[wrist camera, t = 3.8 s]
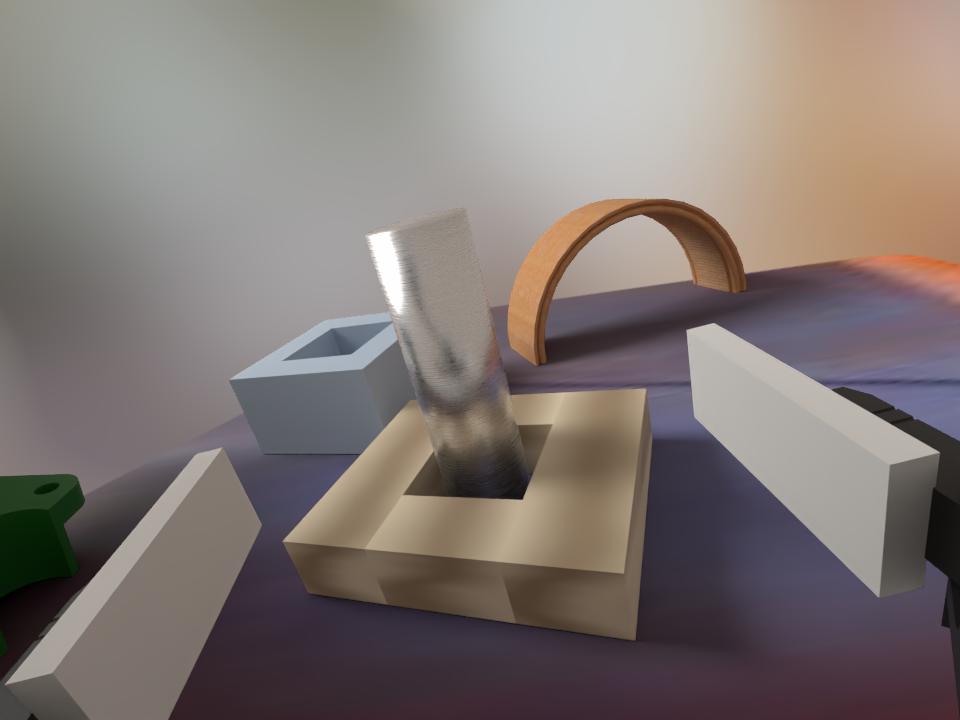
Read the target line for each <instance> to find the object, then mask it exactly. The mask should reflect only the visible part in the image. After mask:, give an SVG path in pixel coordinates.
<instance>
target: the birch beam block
mask: <svg viewBox="0 0 960 720" xmlns="http://www.w3.org/2000/svg"><path fill="white" fill-rule="evenodd" d="M511 399H512V403H513V407H514V411H515V415H516V419H517V424H518V428H519V432H520V436H521V440H522V444H523V448H524V452H525V457H526V461H527V465H528V469H529V473H530V474H533V475H532V478H531V480H530V483H529V485H528V488H527V490H526V493H525V495H524V498H523V500H511V499H487V498H462V497H448V493H447V490H446V487H445V484H444V481H443V478H442V475H441V472H440V469H439V465H438V462H437V459H436V456H435V453H434V450H433V447H432V444H431V441H430V437H429V434H428V431H427V428H426V425H425V422H424V419H423V416H422V413H421V409H420V406H419V403H418V400H410V401H409V402H408V403H407V404H406V405H405V407H404V408H403V409H402V410H401V411H400V412H399V413H398V414H397V415H396V417H395V418H394V419H393V420H392V421H391V422H390V423H389V424H388V425H387V426H386V428H385V429H384V430H383V431H382V432H381V433H380V434H379V435H378V436H377V438H376V439H375V440H374V441H373V442H372V443H371V444H370V445H369V446H368V447H367V449H366V450H365V451H364V452H363V453H362V454H361V455H360V456H359V457H358V459H357V460H356V461H355V462H354V463H353V464H352V465H351V466H350V467H349V468H348V470H347V471H346V472H345V473H344V474H343V475H342V476H341V477H340V478H339V480H338V481H337V482H336V483H335V484H334V485H333V486H332V487H331V488H330V489H329V491H328V492H327V493H326V494H325V495H324V496H323V497H322V498H321V499H320V500H319V502H318V503H317V504H316V505H315V506H314V507H313V508H312V509H311V510H310V512H309V513H308V514H307V515H306V516H305V517H304V518H303V519H302V520H301V521H300V523H299V524H298V525H297V526H296V527H295V528H294V529H293V530H292V531H291V533H290V534H289V535H288V536H287V537H286V538H285V539H284V540H283V543H284V545H285V547H286V549H287V551H288V553H289V555H290V557H291V560H292V562H293V564H294V566H295V568H296V570H297V572H298V574H299V576H300V578H301V580H302V582H303V584H304V586H305V588H306V590H307V592H308V593H310V594H317V595H324V596H331V597H337V598H344V599H351V600H358V601H365V602H372V603H379V604H386V605H393V606H399V607H406V608H413V609H420V610H427V611H434V612H441V613H448V614H454V615H461V616H468V617H475V618H482V619H489V620H496V621H503V622H510V623H516V624H523V625H530V626H537V627H544V628H551V629H558V630H565V631H571V632H578V633H585V634H592V635H599V636H606V637H613V638H620V639H626V640H633V641H635V640H636V628H637V616H638V604H639V593H640V581H641V569H642V557H643V545H644V533H645V521H646V510H647V498H648V486H649V474H650V462H651V450H652V430H651V422H650V415H649V407H648V399H647V391H646V389H629V390H608V391H587V392H566V393H545V394H524V395H511Z"/></svg>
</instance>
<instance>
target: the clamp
mask: <svg viewBox="0 0 960 720" xmlns="http://www.w3.org/2000/svg"><path fill="white" fill-rule="evenodd" d="M84 502H85V499H84V496H83V493H82V490H81V487H80V484H79V481H78V478H77V477H76V476H74V475H70V474H56V475H28V476H0V598H1V597H2V596H4V595H6V594H8V593H10V592H12V591H14V590H16V589H18V588H20V587H22V586H25V585H27V584H30V583H33V582H36V581H40V580H44V579H48V578H55V577H73V576H74V575H75V574H76V572H77V571H78V570H79V567H78V565H77V562H76V559H75V556H74V553H73V550H72V548H71V545H70V542H69V539H68V536H67V533H66V531H65V528H64V525H63V524H64V523H65V522H67V521H68V520H69V519H70V518H71V517H72V516H73V515H74V514H75V513H76V512H77V511H78V510H79V509H80V508H81V507H82V506H83V504H84ZM8 649H9V648H8V645H7V643H6V641H5V639H4V637H3V634H2V632H1V630H0V658H1V657H2V656H3V655H4V654H5V653H6V651H7V650H8Z"/></svg>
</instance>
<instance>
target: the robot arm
mask: <svg viewBox="0 0 960 720" xmlns="http://www.w3.org/2000/svg"><path fill="white" fill-rule="evenodd" d="M687 340H688V351H689V363H690V374H691V385H692V396H693V407H694V417H695V418H696V419H697V420H698V421H699V422H700V423H701V424H702V425H703V426H704V427H705V428H706V429H707V430H708V431H709V432H710V433H711V434H712V435H713V436H714V437H715V438H716V439H717V440H718V441H720V442H721V443H722V444H723V445H724V446H725V447H726V448H727V449H728V450H729V451H730V452H731V453H732V454H733V455H734V456H735V457H736V458H737V459H738V460H739V461H740V462H741V463H742V464H743V465H744V466H745V467H746V468H747V469H748V470H749V471H750V472H751V473H752V474H753V475H754V476H755V477H756V478H757V479H758V480H759V481H760V482H761V483H762V484H763V485H764V486H765V487H766V488H767V489H768V490H769V491H770V492H771V493H773V494H774V495H775V496H776V497H777V498H778V499H779V500H780V501H781V502H782V503H783V504H784V505H785V506H786V507H787V508H788V509H789V510H790V511H791V512H792V513H793V514H794V515H795V516H796V517H797V518H798V519H799V520H800V521H801V522H802V523H803V524H804V525H805V526H806V527H807V528H808V529H809V530H810V531H811V532H812V533H813V534H814V535H815V536H816V537H817V538H818V539H819V540H820V541H821V542H822V543H823V544H824V545H826V546H827V547H828V548H829V549H830V550H831V551H832V552H833V553H834V554H835V555H836V556H837V557H838V558H839V559H840V560H841V561H842V562H843V563H844V564H845V565H846V566H847V567H848V568H849V569H850V570H851V571H852V572H853V573H854V574H855V575H856V576H857V577H858V578H859V579H860V580H861V581H862V582H863V583H864V584H865V585H866V586H867V587H868V588H869V589H870V590H871V591H872V592H873V593H874V594H875V595H876V596H877V597H879V598H882V597H886V596H890V595H894V594H898V593H902V592H906V591H910V590H914V589H919V588H923V585H924V577H925V569H926V561H927V560H928V561H929V562H930V563H932V564H933V565H934V566H935V567H937V568H938V569H939V570H940V571H942V572H943V573H944V574H945V575H947V576H948V584H947V591H946V598H945V604H944V611H943V618H942V625H941V626H944V627H948V628H950V632H951V641H952V651H953V660H954V669H955V678H956V688H957V697H958V706H959V715H960V441H958V440H956V439H954V438H952V437H950V436H948V435H947V434H945V433H943V432H941V431H939V430H937V429H935V428H933V427H931V426H930V425H928V424H926V423H924V422H922V421H920V420H918V419H917V420H914V419H913V416H911V415H909V414H907V413H905V412H903V411H901V410H899V409H897V410H895V408H894V406H892V405H890V404H888V403H886V402H884V401H882V400H881V399H879V398H877V397H875V396H873V395H871V394H867V393H863V392H860V391H856V390H852V389H849V388H845V387H841V388H837V389H833V390H830V389H828V388H827V387H825V386H823V385H821V384H820V383H818V382H816V381H814V380H813V379H811V378H809V377H807V376H806V375H804V374H802V373H800V372H799V371H797V370H795V369H793V368H792V367H790V366H788V365H786V364H785V363H783V362H781V361H779V360H778V359H776V358H774V357H772V356H771V355H769V354H767V353H765V352H764V351H762V350H760V349H758V348H757V347H755V346H753V345H751V344H750V343H748V342H746V341H744V340H743V339H741V338H739V337H737V336H736V335H734V334H732V333H731V332H729V331H727V330H725V329H724V328H722V327H720V326H718V325H717V324H715V323H712V324H708V325H704V326H700V327H696V328H692V329H689V330H687ZM261 527H262V524H261V522H260V520H259V518H258V516H257V514H256V512H255V510H254V508H253V506H252V504H251V502H250V500H249V498H248V496H247V494H246V492H245V490H244V488H243V486H242V484H241V482H240V480H239V478H238V476H237V474H236V472H235V470H234V468H233V466H232V464H231V462H230V461H229V459H228V457H227V455H226V453H225V451H224V449H223V448H219V449H215V450H211V451H207V452H203V453H199V454H196V455H195V456H194V457H193V459H192V460H191V461H190V462H189V463H188V465H187V466H186V467H185V468H184V470H183V471H182V472H181V473H180V474H179V476H178V477H177V478H176V479H175V480H174V482H173V483H172V484H171V485H170V486H169V488H168V489H167V490H166V491H165V492H164V494H163V495H162V496H161V497H160V498H159V500H158V501H157V502H156V503H155V504H154V506H153V507H152V508H151V509H150V510H149V512H148V513H147V514H146V515H145V516H144V518H143V519H142V520H141V521H140V522H139V524H138V525H137V526H136V527H135V528H134V530H133V531H132V532H131V533H130V535H129V536H128V537H127V538H126V539H125V541H124V542H123V543H122V544H121V545H120V547H119V548H118V549H117V550H116V551H115V553H114V554H113V555H112V556H111V557H110V559H109V560H108V561H107V562H106V563H105V565H104V566H103V567H102V568H101V569H100V571H99V572H98V573H97V574H96V575H95V577H94V578H93V579H92V580H91V581H90V582H89V583H88V584H86V585H85V586H84V587H83V588H82V589H80V590H79V591H78V592H77V593H76V594H75V595H73V596H72V597H71V598H70V600H69V601H68V602H67V603H66V604H65V605H64V607H63V608H62V609H61V610H60V611H59V613H58V614H57V615H56V616H55V617H54V622H51V623H49V624H48V626H47V627H46V628H45V629H44V630H43V632H42V633H41V634H40V635H39V636H38V638H39V639H38V641H34V642H33V643H32V645H31V646H30V647H29V648H28V649H27V650H26V652H25V653H24V654H23V655H22V656H21V658H20V659H19V660H18V661H17V662H16V664H15V665H14V666H13V667H12V668H11V669H10V671H9V672H8V673H7V674H6V675H5V677H4V678H3V679H2V680H1V681H0V720H168V719H169V717H170V715H171V712H172V710H173V708H174V706H175V704H176V702H177V700H178V698H179V696H180V694H181V692H182V690H183V688H184V686H185V684H186V681H187V679H188V677H189V675H190V673H191V671H192V669H193V667H194V665H195V663H196V661H197V659H198V657H199V655H200V653H201V651H202V648H203V646H204V644H205V642H206V640H207V638H208V636H209V634H210V632H211V630H212V628H213V626H214V624H215V622H216V620H217V618H218V615H219V613H220V611H221V609H222V607H223V605H224V603H225V601H226V599H227V597H228V595H229V593H230V591H231V589H232V587H233V584H234V582H235V580H236V578H237V576H238V574H239V572H240V570H241V568H242V566H243V564H244V562H245V560H246V558H247V556H248V554H249V551H250V549H251V547H252V545H253V543H254V541H255V539H256V537H257V535H258V533H259V531H260V529H261Z"/></svg>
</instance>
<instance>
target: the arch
mask: <svg viewBox="0 0 960 720" xmlns="http://www.w3.org/2000/svg"><path fill="white" fill-rule="evenodd" d="M641 214H642V215H645V216H647V217H650V218H653V219H654V220H656V221H657V222H659V223H660V224H662V225H664V226H665V227H666V228H667V229H668V230H669V231H670V232H671V233H672V234H673V235H674V236H675V237H676V239H677V240H678V242H679V243H680V244H681V246H682V247H683V249H684V251H685V254H686V256H687V258H688V260H689V263H690V267H691V271H692V276H693V284H697V285H700V286H705V287H709V288H714V289H718V290H722V291H727V292H732V291H733V293H739V292H740V291H745V290H746V279H745V274H744V269H743V264H742V261H741V259H740V256H739V253H738V251H737V248H736V246H735V244H734V243H733V241H732V240H731V238H730V237H729V235H728V233H727V232H726V230H725V229H724V228H723V227H722V226H721V225H720V224H719V223H718V222H717V221H716V220H715V219H714V218H713V217H711V216H710V215H708V214H707V213H706V212H704V211H703V210H701V209H700V208H697V207H695V206H692V205H689V204H687V203H685V202H680V201H674V200H668V199H613V200H604V201H599V202H595V203H591V204H588V205H586V206H584V207H581V208H579V209H577V210H575V211H573V212H571V213H569V214H568V215H566V216H565V217H563V218H562V219H561V220H559V221H558V222H556V223H555V224H554V225H553V226H552V227H551V228H550V229H549V230H548V231H547V232H546V233H545V234H543V236H541V238H540V239H539V240H538V242H537V243H536V244H535V245H534V247H533V248H532V249H531V251H530V252H529V253H528V255H527V257H526V259H525V261H524V263H523V265H522V266H521V268H520V270H519V272H518V275H517V278H516V281H515V284H514V287H513V289H512V292H511V298H510V303H509V309H508V336H509V342H510V347H511V348H513V349H514V350H515V351H517V352H518V353H519V354H521V355H522V356H523V357H525V358H526V359H527V360H529V361H530V362H531V363H533V364H534V365H535V366H539V364H540V363H541V364H543V363H546V362H547V361H546V354H545V347H544V340H545V324H546V319H547V314H548V309H549V305H550V302H551V300H552V297H553V294H554V292H555V289H556V286H557V284H558V283H559V281H560V279H561V277H562V275H563V273H564V272H565V270H566V268H567V267H568V265H569V264H570V263H571V261H572V260H573V259H574V257H575V256H576V255H577V253H578V252H579V251H580V250H581V249H582V248H583V247H584V246H585V245H586V244H587V243H588V242H589V241H590V240H591V239H592V238H593V237H595V236H596V235H598V234H599V233H601V232H602V231H603V230H605V229H606V228H608V227H609V226H611V225H613V224H615V223H617V222H620V221H622V220H624V219H626V218H629V217H633V216H637V215H641Z"/></svg>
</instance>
